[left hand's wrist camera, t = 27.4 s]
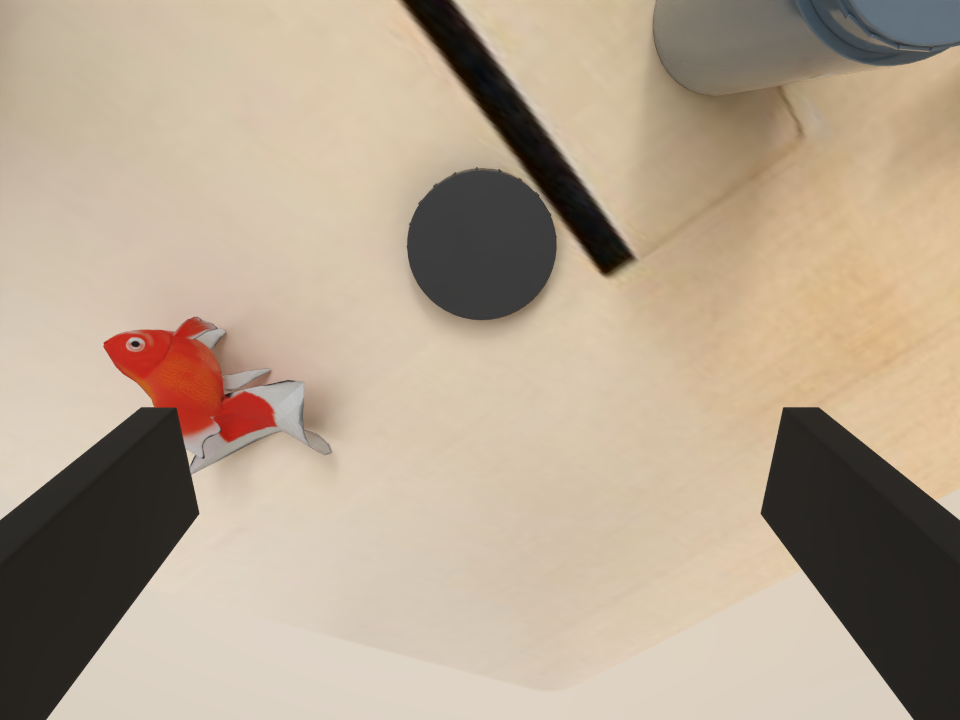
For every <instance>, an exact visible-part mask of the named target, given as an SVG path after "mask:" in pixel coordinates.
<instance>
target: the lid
mask: <svg viewBox="0 0 960 720" xmlns="http://www.w3.org/2000/svg"><path fill="white" fill-rule="evenodd" d="M433 187H434V188H433V189H432V190H431V191H430V192H429V193H428V194H427V195H426V196H425V197H424V199H423V200H421V201H420V202H419V203H418V204H419V206H418V207H417V209H416V211H415V213H414V215H413V218H412V220H411V223H410V224H409V225H410V227H409V232H408V239H407V250H408V259H409V263H410V267H411V270H412V272H413V275H414V277H415V279H416V281H417V283H418V285H419V286H420V288H421V289H422V290H423V292H424V293H425V294H426V295H427V296H428V297H429V298H430V299H431V300H432V301H433V302H434V303H435V304H436V305H438V306H439V307H441V308H442V309H444V310H445V311H448V312H450V313H452V314H454V315H457V316H460V317H463V318H468V319H475V320H489V319H496V318H501V317H504V316H507V315H510V314H512V313H514V312H516V311H518V310H520V309H521V308H523V307H524V306H526V305H527V304H528V303H529V302H531V301H532V300H533V299H534V298H535V297H536V296H537V295H538V294H539V292H540V291H541V290H542V288H543V287H544V286H545V284H546V282H547V280H548V278H549V276H550V274H551V271H552V269H553V265H554V262H555V256H556V234H555V228H554V225H553V221H552V218H551V214H550V213H549V211H548V210H547V208H546V206H545V205H544V203H543V201H542V200H541V199H540V198H539V194H538V193H537V192H536V193H535V192H534V191H533V190H532V189H531V188H530V187H529V186H528V185H527V184H525V183H524V182H522V180H521V179H520V178H519V179H518V178H516V177H514V176H512V175H510V174H508V173H505V172H502V171H500V169H498V170H494V169H484V168H481V169H478V167H476V169H470V170H465V171H461V172H459V173H456V172H455V173H454V174H453V175H451V176H449V177H447V178H445V179H444V180H443V181H441V182H440V183H438V184H435V185H434V186H433Z"/></svg>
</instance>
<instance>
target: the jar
mask: <svg viewBox="0 0 960 720" xmlns="http://www.w3.org/2000/svg"><path fill="white" fill-rule="evenodd" d="M653 33H654V40H655V45H656V49H657V52H658V55H659V57H660V60H661V62H662V64H663V65H664V67H665V69H666V70H667V71H668V73H669V74H670V75H671V76H672V77H673V78H674V79H675V80H676V81H677V82H678V83H679V84H681V85H682V86H684V87H685V88H687V89H689V90H691V91H693V92H696V93H699V94H703V95H710V96H720V95H727V94H733V93H739V92H745V91H751V90H757V89H763V88H769V87H775V86H781V85H787V84H793V83H798V82H804V81H810V80H816V79H822V78H828V77H834V76H840V75H846V74H852V73H858V72H863V71H869V70H875V69H881V68H887V67H893V66H899V65H905V64H910V63H914V62H917V61H921V60H924V59H927V58H929V57H932V56H934V55H937V54H939V53H941V52H943V51H945V50H947V49H948V48H950V47H954V46H959V45H960V0H656V5H655V10H654V19H653Z"/></svg>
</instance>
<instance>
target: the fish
mask: <svg viewBox="0 0 960 720" xmlns="http://www.w3.org/2000/svg"><path fill="white" fill-rule="evenodd" d="M224 334H225V331H224V330H223V329H217V327H216V326H215V325H214V324H212V323H209V322H205V321H203V320H201V319H200V318H199V317H193V318H191V319H188V320H186V321H185V322H184V323H183V324H182V325H181V326H180V327H179V328H178V330H177V331H176V332H173V331H164V330H133V331H127V332H123V333H120V334H117V335H116V336H114V337H112V338H110V339H109V340H107V341H105V342H104V349H105V350H106V352H107V353H108V355H109V357H110V358H111V360H112V361H113V363H114V365H115V366H116V367H117V368H118V369H119V370H120V371H121V372H122V373H123V374H124V375H126V376H127V377H129V378H130V379H132V380H134V381H135V382H136V383H138V384H139V385H140V386H141V388H142V389H143V390H144V391H145V392H146V393H147V394H148V396H149V397H150V398H151V399H152V403H153V405H154V407H177V411H178V416H179V421H180V425H181V430H182V435H183V439H184V444H185V449H187V450H189V451H190V452H192V453H193V454H195V457H194V458H193V461H192V463H191V466H190V472H191V475H192V474H193V473H195V472H197V471H199V470H201V469H203V468H205V467H207V466H209V465H211V464H213V463H215V462H217V461H219V460H221V459H223V458H224V457H226V456H228V455H230V454H232V453H234V452H236V451H238V450H240V449H241V448H243V447H245V446H247V445H249V444H251V443H253V442H255V441H257V440H260V439H262V438H264V437H266V436H268V435H270V434H273V433H276V432H280V431H284V432H286V433H288V434H290V435H292V436H293V437H295V438H297V439H299V440H300V441H302V442H303V443H304V444H306V445H307V446H309V447H311V448H313V449H314V450H316V451H317V452H319V453H321V454H323V455H327V454H330V453H332V450H331V448H330V445H329V444H328V443H327V442H326V441H325V440H324V439H322V438H321V437H320V436H319V435H317V434H316V433H313V432H310V431H306V430H304V425H303V417H302V416H303V404H304V382H300V381H291V380H287V381H282V382H278V383H273V384H269V385H264V386H258V387H253V388H249V389H244V390H240V391H237V392H233V393H229V394H225V395H224V390H236V389H238V388H240V387H242V386H244V385H246V384H247V383H249V382H250V381H252V380H254V379H255V378H257V377H259V376H261V375H263V374H265V373H267V372H269V371H270V369H269V368H268V369H260V370H251V371H245V372H241V373H237V374H233V375H222V372H221V368H220V366H219V363H218V361H217V359H216V357H215V356H214V354H213V352H212V351H211V350H210V349H212V348H214V347H215V345H216V344H217V342H218V341H219V339H220V338H221V337H222V336H223V335H224Z"/></svg>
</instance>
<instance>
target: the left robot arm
mask: <svg viewBox="0 0 960 720" xmlns="http://www.w3.org/2000/svg"><path fill="white" fill-rule="evenodd" d="M198 515H199V510H198V505H197V500H196V496H195V491H194V486H193V482H192V477H191V472H190V467H189V463H188V458H187V453H186V449H185V444H184V439H183V435H182V430H181V425H180V421H179V416H178V411H177V407H141V408H140V409H139V410H137V411H136V412H135V413H134V414H132V415H131V416H130V417H129V418H127V419H126V420H125V421H124V422H122V423H121V424H120V425H119V426H117V427H116V428H115V429H114V430H112V431H111V432H110V433H109V434H107V435H106V436H105V437H104V438H102V439H101V440H100V441H99V442H97V443H96V444H95V445H94V446H92V447H91V448H90V449H89V450H87V451H86V452H85V453H84V454H82V455H81V456H80V457H79V458H77V459H76V460H75V461H74V462H72V463H71V464H70V465H69V466H67V467H66V468H65V469H64V470H62V471H61V472H60V473H59V474H57V475H56V476H55V477H54V478H52V479H51V480H50V481H49V482H47V483H46V484H45V485H44V486H42V487H41V488H40V489H39V490H37V491H36V492H35V493H34V494H32V495H31V496H30V497H29V498H27V499H26V500H25V501H24V502H22V503H21V504H20V505H19V506H18V507H16V508H15V509H14V510H12V511H11V512H10V513H9V514H8V515H6V516H5V517H4V518H2V519H1V520H0V720H46V719H47V718H48V716H49V715H50V714H51V712H52V711H53V710H54V708H55V707H56V706H57V704H58V703H59V702H60V700H61V699H62V698H63V696H64V695H65V694H66V692H67V691H68V690H69V688H70V687H71V686H72V684H73V683H74V682H75V680H76V679H77V677H78V676H79V675H80V674H81V672H82V671H83V670H84V668H85V667H86V665H87V664H88V663H89V661H90V660H91V659H92V657H93V656H94V655H95V653H96V652H97V651H98V649H99V648H100V647H101V645H102V644H103V643H104V641H105V640H106V639H107V637H108V636H109V635H110V633H111V632H112V630H113V629H114V628H115V626H116V625H117V624H118V622H119V621H120V620H121V618H122V617H123V616H124V614H125V613H126V612H127V610H128V609H129V608H130V606H131V605H132V604H133V602H134V601H135V600H136V598H137V597H138V596H139V594H140V593H141V592H142V590H143V589H144V587H145V586H146V585H147V583H148V582H149V581H150V579H151V578H152V577H153V575H154V574H155V573H156V571H157V570H158V569H159V567H160V566H161V565H162V563H163V562H164V561H165V559H166V558H167V557H168V555H169V554H170V553H171V551H172V550H173V548H174V547H175V546H176V544H177V543H178V542H179V540H180V539H181V538H182V536H183V535H184V534H185V532H186V531H187V530H188V528H189V527H190V526H191V524H192V523H193V522H194V520H195V519H196V518H197V516H198ZM761 515H762V516H763V518H764V519H765V520H766V522H767V523H768V524H769V526H770V527H771V528H772V530H773V531H774V532H775V534H776V535H777V536H778V538H779V539H780V540H781V542H782V543H783V544H784V546H785V547H786V548H787V550H788V551H789V553H790V554H791V555H792V557H793V558H794V559H795V561H796V562H797V563H798V565H799V566H800V567H801V569H802V570H803V571H804V573H805V574H806V575H807V577H808V578H809V579H810V581H811V582H812V583H813V585H814V586H815V587H816V589H817V590H818V592H819V593H820V594H821V595H822V597H823V598H824V600H825V601H826V602H827V604H828V605H829V606H830V608H831V609H832V610H833V612H834V613H835V614H836V616H837V617H838V618H839V620H840V621H841V622H842V624H843V625H844V626H845V628H846V629H847V631H848V632H849V633H850V635H851V636H852V637H853V639H854V640H855V641H856V643H857V644H858V645H859V647H860V648H861V649H862V651H863V652H864V653H865V655H866V656H867V657H868V659H869V660H870V661H871V663H872V664H873V665H874V667H875V668H876V670H877V671H878V672H879V673H880V675H881V676H882V678H883V679H884V680H885V682H886V683H887V684H888V686H889V687H890V688H891V690H892V691H893V692H894V694H895V695H896V696H897V698H898V699H899V700H900V702H901V703H902V704H903V706H904V707H905V708H906V710H907V711H908V713H909V714H910V715H911V717H912V718H913V719H914V720H960V520H959V519H958V518H956V517H955V516H954V515H952V514H951V513H950V512H949V511H948V510H946V509H945V508H944V507H942V506H941V505H940V504H939V503H938V502H936V501H935V500H934V499H933V498H931V497H930V496H929V495H928V494H926V493H925V492H924V491H923V490H921V489H920V488H919V487H918V486H916V485H915V484H914V483H913V482H911V481H910V480H909V479H908V478H906V477H905V476H904V475H903V474H901V473H900V472H899V471H898V470H896V469H895V468H894V467H893V466H891V465H890V464H889V463H888V462H886V461H885V460H884V459H883V458H881V457H880V456H879V455H878V454H876V453H875V452H874V451H873V450H871V449H870V448H869V447H868V446H866V445H865V444H864V443H863V442H861V441H860V440H859V439H858V438H856V437H855V436H854V435H853V434H851V433H850V432H849V431H848V430H846V429H845V428H844V427H843V426H841V425H840V424H839V423H838V422H836V421H835V420H834V419H833V418H831V417H830V416H829V415H828V414H826V413H825V412H824V411H823V410H821V409H820V408H819V407H783V411H782V416H781V421H780V425H779V430H778V435H777V439H776V444H775V449H774V453H773V458H772V463H771V467H770V472H769V477H768V482H767V486H766V491H765V496H764V500H763V505H762V510H761Z"/></svg>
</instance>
